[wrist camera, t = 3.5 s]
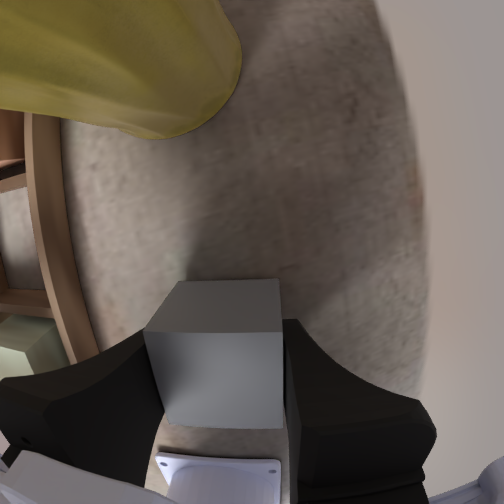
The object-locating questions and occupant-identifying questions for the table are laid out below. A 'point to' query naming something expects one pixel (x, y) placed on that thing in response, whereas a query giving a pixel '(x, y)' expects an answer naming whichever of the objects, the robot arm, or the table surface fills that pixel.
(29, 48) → the vase
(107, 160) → the table surface
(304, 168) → the table surface
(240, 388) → the grey block
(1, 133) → the walnut rack
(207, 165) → the table surface
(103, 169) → the table surface
